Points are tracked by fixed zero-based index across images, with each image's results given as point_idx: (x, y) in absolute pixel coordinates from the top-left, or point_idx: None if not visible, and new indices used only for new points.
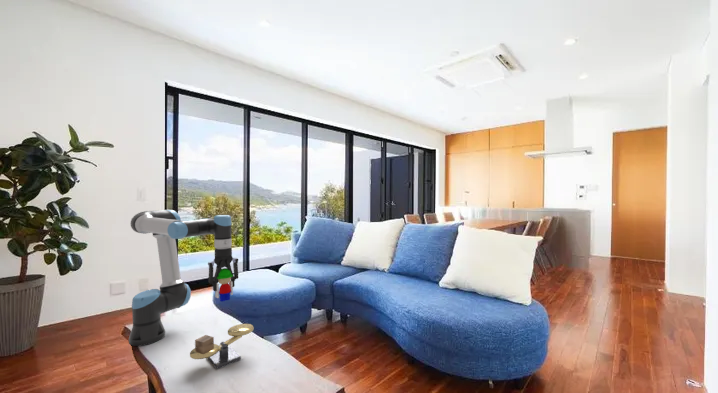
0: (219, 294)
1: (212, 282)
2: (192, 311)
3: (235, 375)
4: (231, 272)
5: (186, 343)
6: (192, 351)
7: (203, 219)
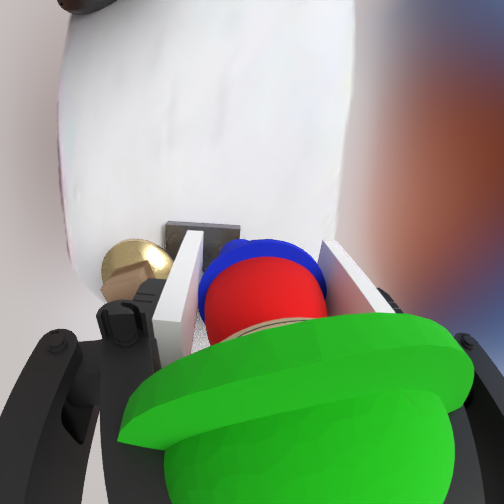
0: (201, 311)
1: (96, 401)
2: None
3: (196, 341)
4: None
5: (156, 69)
6: (108, 260)
7: None
